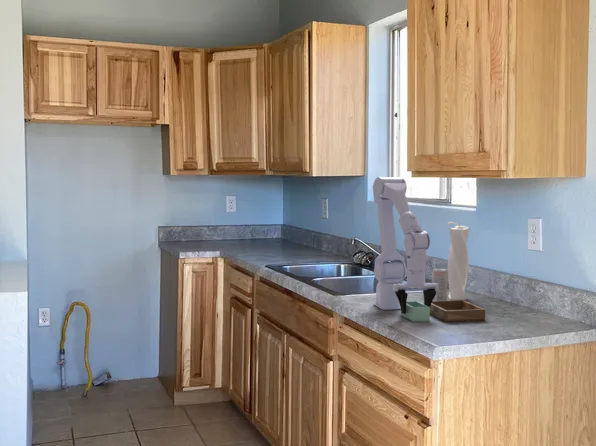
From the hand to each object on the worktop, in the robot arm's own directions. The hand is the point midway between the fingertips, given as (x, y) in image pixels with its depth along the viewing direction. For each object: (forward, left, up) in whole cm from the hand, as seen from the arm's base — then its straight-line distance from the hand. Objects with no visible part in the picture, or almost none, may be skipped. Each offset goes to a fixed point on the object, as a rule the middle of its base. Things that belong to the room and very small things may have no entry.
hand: (414, 312), depth 217 cm
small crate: (0, 0, -2) cm, 2 cm away
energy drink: (-21, +18, -2) cm, 28 cm away
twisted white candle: (-28, +28, -2) cm, 40 cm away
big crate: (-1, +14, -2) cm, 14 cm away
